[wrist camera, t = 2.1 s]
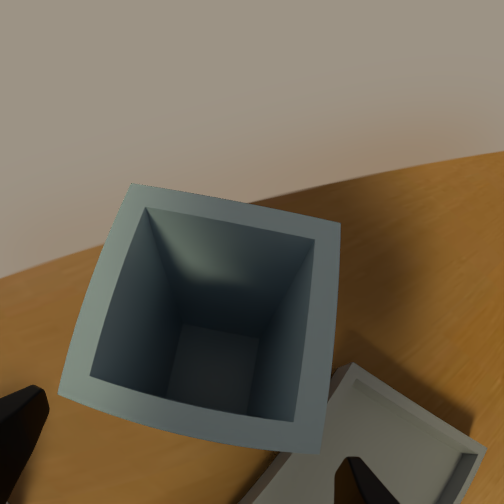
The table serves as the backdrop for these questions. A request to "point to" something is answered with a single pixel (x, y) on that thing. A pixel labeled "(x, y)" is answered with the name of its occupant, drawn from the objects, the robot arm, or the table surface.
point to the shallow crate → (375, 449)
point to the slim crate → (210, 321)
